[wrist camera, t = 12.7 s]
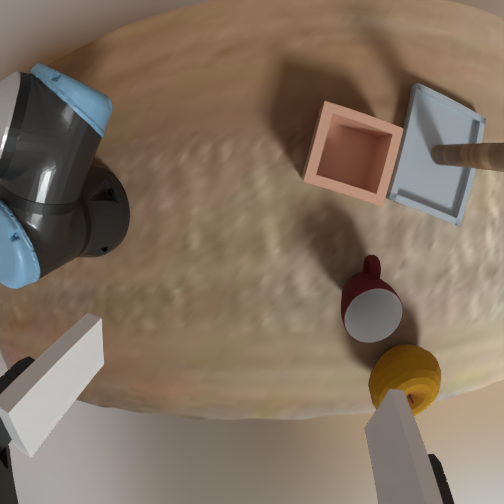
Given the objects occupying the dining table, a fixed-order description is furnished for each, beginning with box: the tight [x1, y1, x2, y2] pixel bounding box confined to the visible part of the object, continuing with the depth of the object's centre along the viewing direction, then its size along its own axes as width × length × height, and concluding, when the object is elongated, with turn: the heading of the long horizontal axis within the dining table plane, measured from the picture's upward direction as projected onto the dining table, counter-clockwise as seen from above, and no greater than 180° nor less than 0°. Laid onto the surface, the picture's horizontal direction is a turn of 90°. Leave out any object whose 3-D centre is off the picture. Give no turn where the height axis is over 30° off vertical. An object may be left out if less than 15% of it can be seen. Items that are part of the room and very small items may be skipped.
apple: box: [368, 345, 441, 416], centre depth 44 cm, size 13×13×11 cm
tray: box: [385, 83, 486, 227], centre depth 38 cm, size 18×13×2 cm
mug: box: [341, 255, 403, 343], centre depth 41 cm, size 10×8×10 cm
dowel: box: [431, 143, 504, 172], centre depth 29 cm, size 3×3×18 cm
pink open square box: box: [301, 101, 403, 207], centre depth 37 cm, size 10×10×8 cm
